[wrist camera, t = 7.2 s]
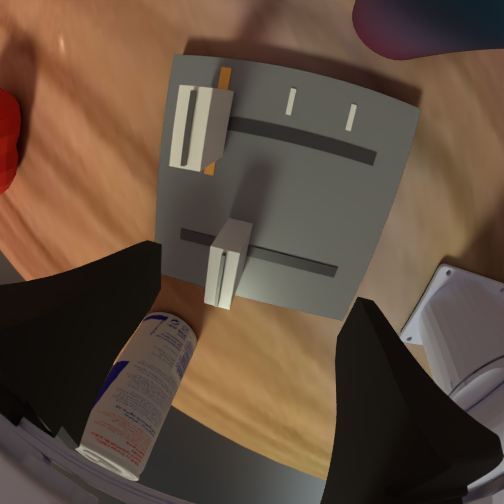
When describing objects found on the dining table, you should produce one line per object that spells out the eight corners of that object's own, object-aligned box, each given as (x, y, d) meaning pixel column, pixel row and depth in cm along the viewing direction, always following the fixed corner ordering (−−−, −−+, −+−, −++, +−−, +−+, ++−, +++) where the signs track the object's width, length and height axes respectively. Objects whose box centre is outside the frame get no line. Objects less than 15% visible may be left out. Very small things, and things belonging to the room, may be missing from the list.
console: (414, 108, 15) (453, 113, 10) (341, 310, 23) (345, 362, 18) (181, 56, 15) (138, 45, 11) (161, 264, 23) (129, 305, 19)
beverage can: (144, 300, 26) (57, 432, 13) (200, 319, 26) (132, 471, 13) (146, 340, 29) (79, 457, 16) (196, 357, 28) (142, 487, 15)
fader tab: (233, 91, 15) (210, 87, 11) (222, 156, 17) (197, 173, 13) (207, 87, 15) (177, 84, 11) (197, 151, 17) (166, 167, 13)
